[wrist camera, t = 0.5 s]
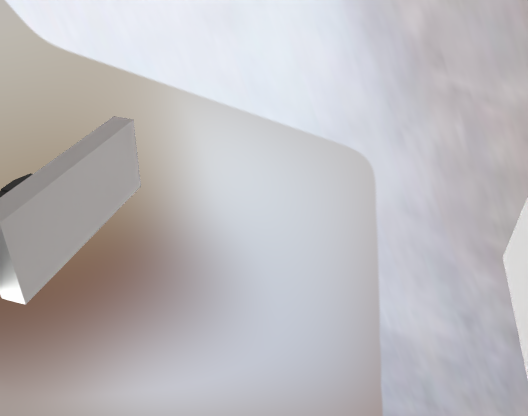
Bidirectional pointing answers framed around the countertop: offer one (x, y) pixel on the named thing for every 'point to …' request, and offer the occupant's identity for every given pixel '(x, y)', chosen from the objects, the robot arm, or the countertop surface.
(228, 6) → the countertop surface
